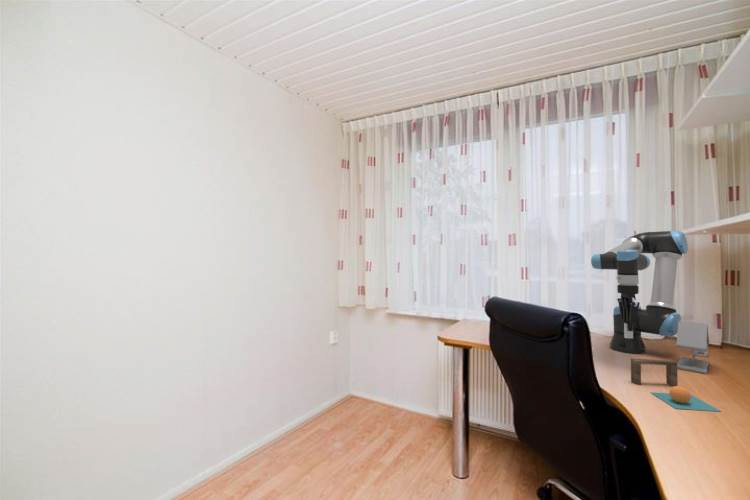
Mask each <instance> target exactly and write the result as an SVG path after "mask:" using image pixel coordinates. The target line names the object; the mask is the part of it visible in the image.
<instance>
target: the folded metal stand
mask: <svg viewBox="0 0 750 500" xmlns="http://www.w3.org/2000/svg"><path fill="white" fill-rule="evenodd" d="M709 335H710V334H709V327H708V323H703V322H695V321H694V322H692V321H684V320H681V321H678V332H677V333H676V343H675V344H676V345H675V347H676V348H679V349H685V350H691V357H686V356H680V359H679V360H678V362H677V370H682V371H686V372H687V371H688V372H695V373H697V374H699V373H700V374H705V375H708V368H709V366H710V364H711V363H710V360H705V359H704V360H703V359H697V358H695V357H696V355H695V350H699V351H705V352H707V347H706V345H707V344H708V345H709V344H710V338H709V337H710V336H709Z"/></svg>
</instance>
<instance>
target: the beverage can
mask: <svg viewBox="0 0 750 500" xmlns="http://www.w3.org/2000/svg"><path fill="white" fill-rule="evenodd" d="M706 347H707V352H705V351H699V350H695V356H698V357H708V356H709V349H708V348H709V344H707V345H706Z"/></svg>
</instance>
